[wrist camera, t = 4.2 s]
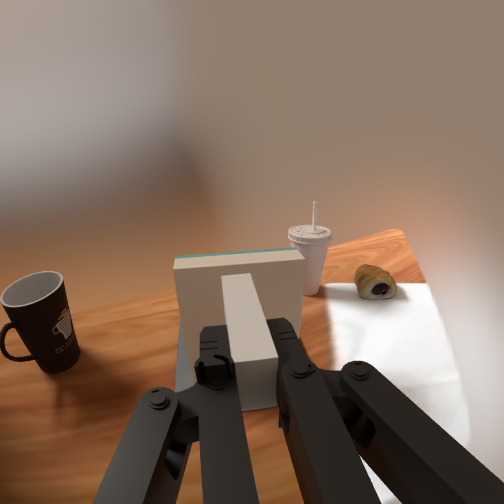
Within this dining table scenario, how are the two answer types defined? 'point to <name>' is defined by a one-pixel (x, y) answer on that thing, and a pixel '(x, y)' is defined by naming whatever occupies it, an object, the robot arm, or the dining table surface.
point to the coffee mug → (41, 321)
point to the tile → (211, 294)
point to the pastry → (374, 283)
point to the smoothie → (311, 251)
